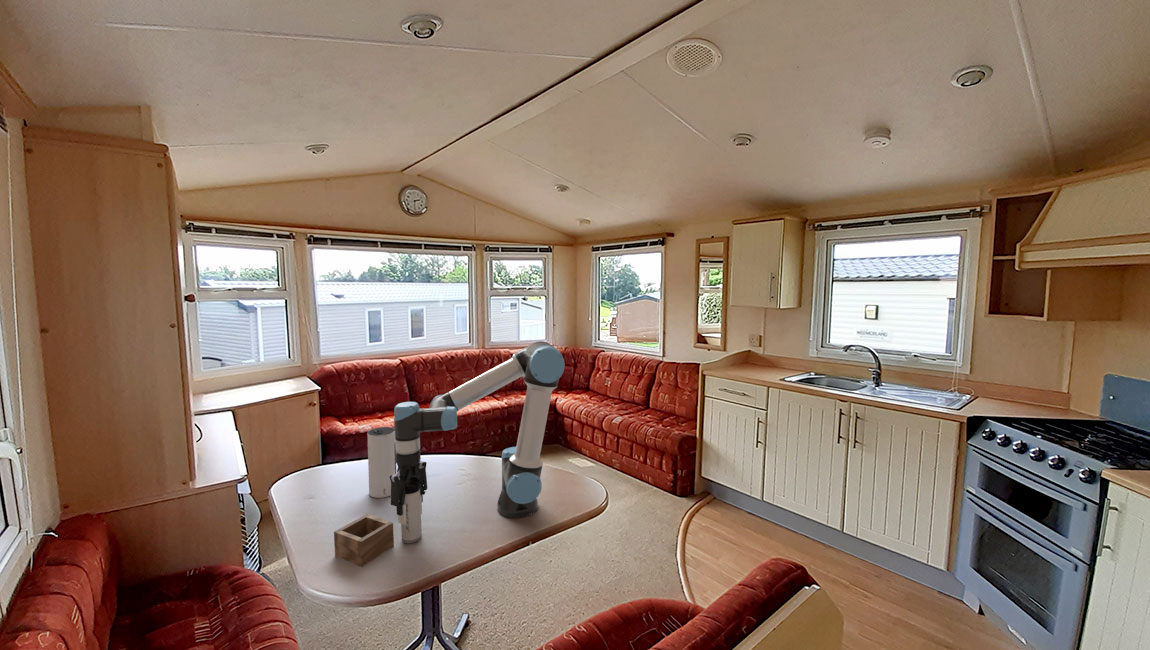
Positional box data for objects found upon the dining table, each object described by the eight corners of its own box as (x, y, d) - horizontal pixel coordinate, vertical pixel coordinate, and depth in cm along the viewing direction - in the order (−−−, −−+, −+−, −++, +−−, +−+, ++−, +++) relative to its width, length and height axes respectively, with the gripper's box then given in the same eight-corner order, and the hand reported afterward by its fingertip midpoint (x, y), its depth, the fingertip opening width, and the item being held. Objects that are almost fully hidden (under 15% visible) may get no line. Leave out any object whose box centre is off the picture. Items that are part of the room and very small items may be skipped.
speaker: (397, 496, 180) (395, 432, 177) (368, 500, 176) (365, 435, 173) (396, 485, 190) (395, 424, 187) (369, 489, 186) (367, 427, 183)
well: (393, 546, 146) (393, 522, 145) (362, 567, 135) (361, 541, 135) (367, 536, 151) (366, 514, 151) (335, 556, 141) (333, 531, 140)
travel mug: (414, 530, 154) (412, 474, 152) (425, 537, 150) (423, 479, 148) (397, 538, 150) (394, 480, 148) (408, 546, 145) (405, 486, 143)
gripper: (421, 439, 157) (423, 502, 159) (375, 458, 140) (378, 530, 142) (437, 442, 154) (439, 507, 156) (393, 463, 137) (396, 535, 139)
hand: (410, 518), depth 149 cm, fingers closed on travel mug, 6 cm apart
